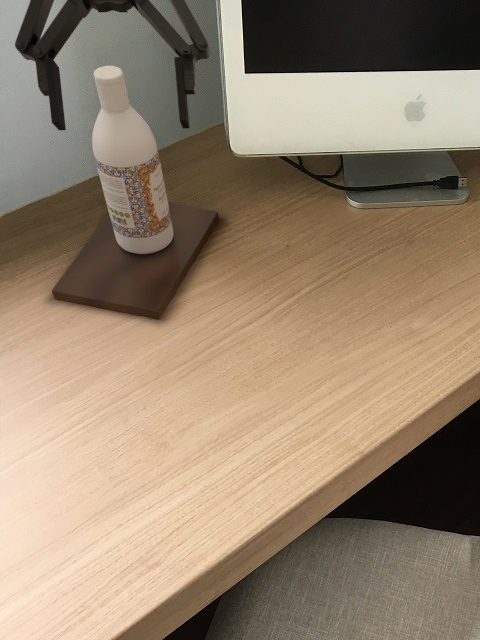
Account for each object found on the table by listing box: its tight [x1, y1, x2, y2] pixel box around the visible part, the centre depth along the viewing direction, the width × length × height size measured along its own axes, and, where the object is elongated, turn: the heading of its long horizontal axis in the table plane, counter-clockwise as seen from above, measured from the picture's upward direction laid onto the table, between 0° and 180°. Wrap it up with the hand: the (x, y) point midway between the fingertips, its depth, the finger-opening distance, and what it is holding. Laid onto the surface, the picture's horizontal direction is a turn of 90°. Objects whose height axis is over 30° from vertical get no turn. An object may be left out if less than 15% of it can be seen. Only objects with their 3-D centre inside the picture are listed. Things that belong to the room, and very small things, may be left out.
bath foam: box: [91, 65, 173, 254], centre depth 89 cm, size 7×7×20 cm
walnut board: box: [51, 202, 220, 320], centre depth 96 cm, size 13×20×1 cm, turn 167°
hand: (122, 126), depth 87 cm, fingers open, 13 cm apart
